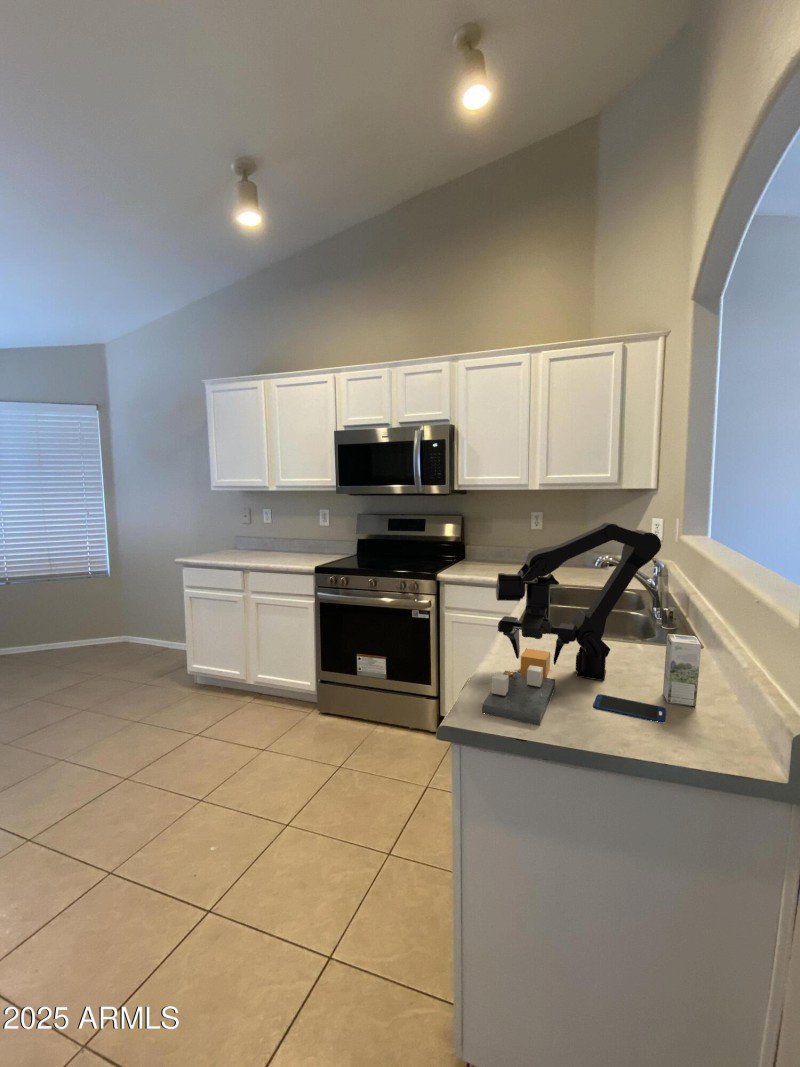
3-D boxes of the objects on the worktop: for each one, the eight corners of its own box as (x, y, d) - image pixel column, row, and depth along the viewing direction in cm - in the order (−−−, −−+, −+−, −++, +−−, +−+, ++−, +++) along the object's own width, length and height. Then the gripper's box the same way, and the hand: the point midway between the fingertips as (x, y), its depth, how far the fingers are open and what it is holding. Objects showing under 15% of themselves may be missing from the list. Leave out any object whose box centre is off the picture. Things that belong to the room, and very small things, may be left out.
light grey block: (542, 681, 116) (542, 667, 115) (540, 686, 113) (540, 671, 113) (529, 679, 117) (529, 665, 117) (526, 684, 114) (527, 669, 114)
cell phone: (664, 725, 101) (665, 721, 101) (592, 709, 108) (592, 706, 108) (665, 710, 107) (666, 707, 107) (597, 696, 114) (597, 693, 114)
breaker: (508, 690, 111) (508, 675, 111) (504, 695, 109) (505, 680, 108) (495, 687, 113) (495, 672, 112) (491, 693, 110) (491, 677, 109)
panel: (555, 687, 118) (555, 677, 118) (539, 725, 100) (540, 714, 100) (505, 678, 123) (505, 669, 123) (481, 713, 105) (482, 702, 105)
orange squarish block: (549, 670, 128) (550, 651, 128) (545, 679, 123) (546, 660, 122) (525, 666, 131) (526, 648, 130) (520, 674, 126) (520, 656, 125)
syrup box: (690, 696, 113) (695, 635, 111) (696, 708, 108) (701, 643, 106) (662, 693, 115) (666, 632, 113) (667, 704, 110) (671, 640, 108)
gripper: (492, 604, 122) (491, 666, 123) (573, 613, 113) (570, 679, 115) (504, 594, 132) (502, 651, 133) (578, 602, 123) (576, 662, 125)
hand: (536, 661), depth 127 cm, fingers open, 9 cm apart
